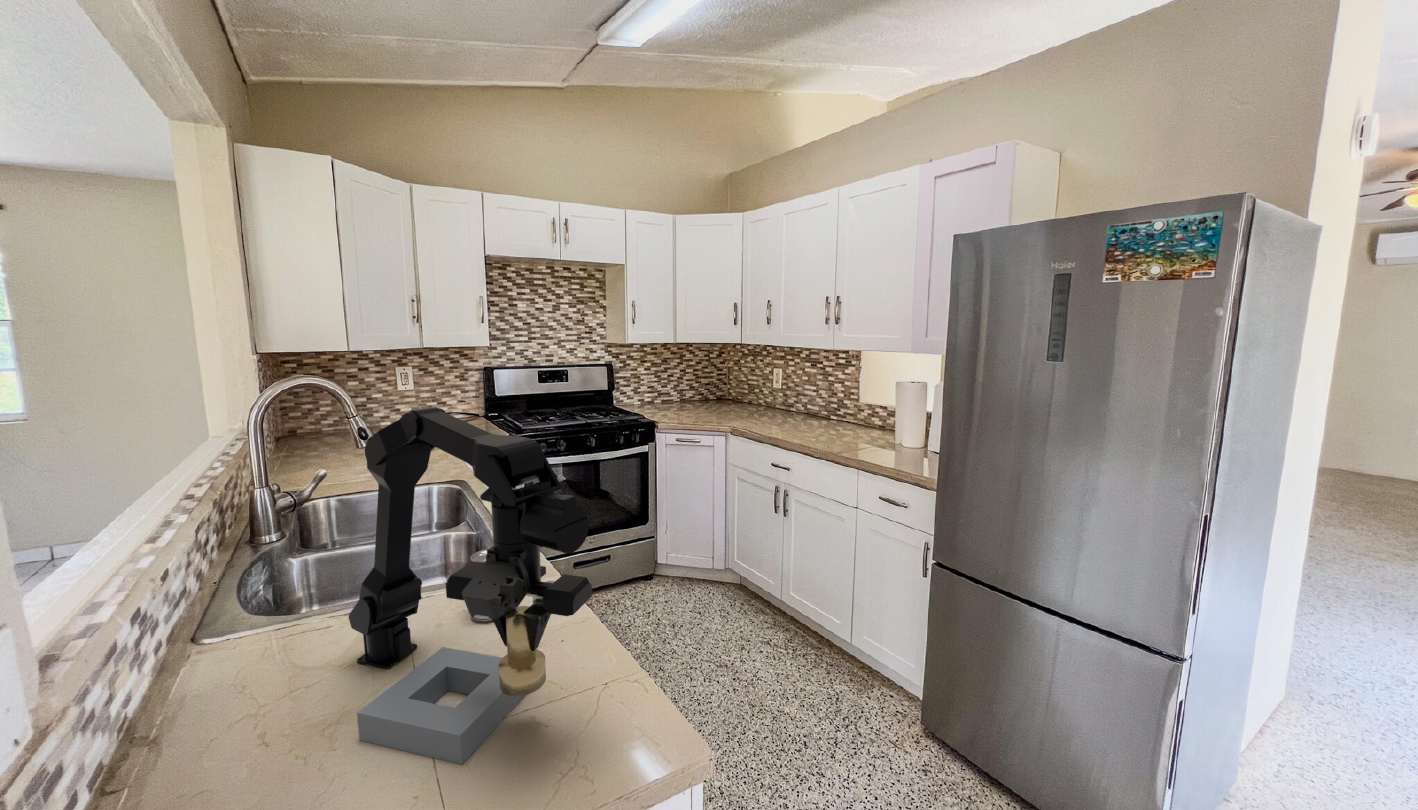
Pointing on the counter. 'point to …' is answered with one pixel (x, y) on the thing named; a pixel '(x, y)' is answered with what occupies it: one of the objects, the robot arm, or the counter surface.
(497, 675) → the housing
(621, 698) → the counter surface
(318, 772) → the counter surface
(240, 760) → the counter surface
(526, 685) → the stepped shaft
